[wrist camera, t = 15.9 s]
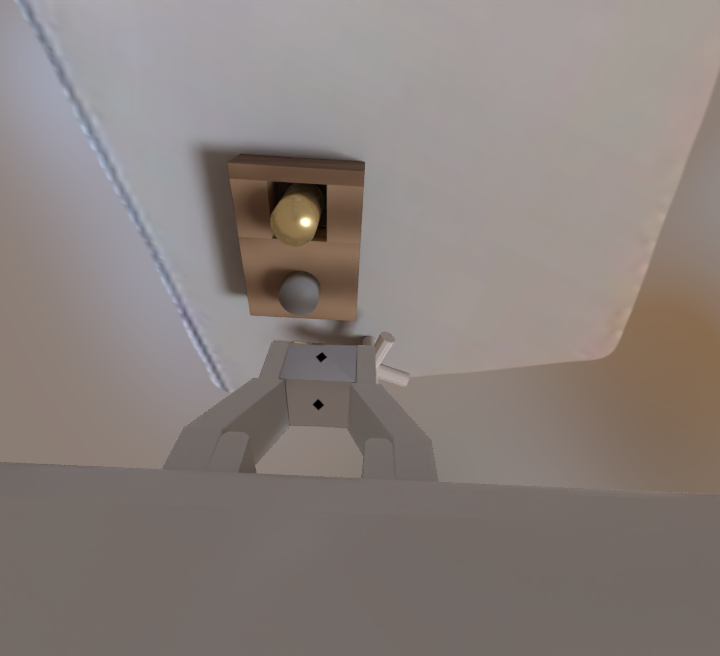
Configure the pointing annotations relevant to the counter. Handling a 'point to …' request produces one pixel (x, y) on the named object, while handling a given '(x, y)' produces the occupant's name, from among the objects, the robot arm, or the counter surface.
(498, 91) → the counter surface
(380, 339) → the pipe connector
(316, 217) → the tan cylinder
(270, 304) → the jig
